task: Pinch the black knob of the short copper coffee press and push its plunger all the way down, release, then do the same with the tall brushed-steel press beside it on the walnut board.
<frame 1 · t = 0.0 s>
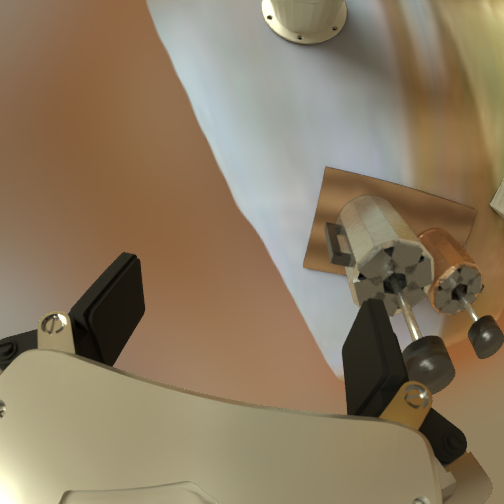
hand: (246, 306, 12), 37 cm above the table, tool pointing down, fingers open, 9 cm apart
steel press: (367, 226, 46), resting on walnut board
copper press: (431, 251, 46), resting on walnut board
walnut board: (395, 235, 47), on the table
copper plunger: (470, 309, 32), point 18 cm above the table, slide at 0.0 cm
steel plunger: (407, 312, 27), point 23 cm above the table, slide at 0.0 cm
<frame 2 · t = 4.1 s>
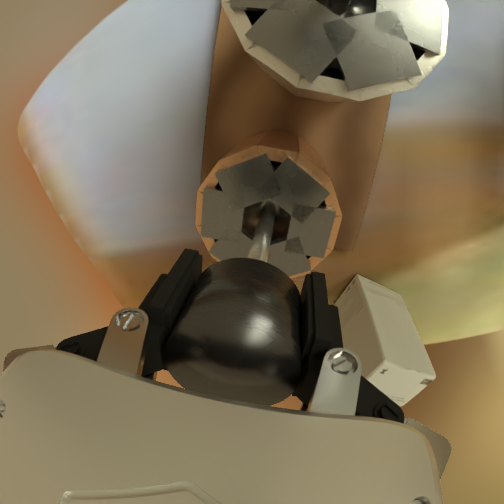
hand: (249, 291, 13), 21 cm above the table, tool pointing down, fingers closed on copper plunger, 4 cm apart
steel press: (317, 48, 23), resting on walnut board
skincare box: (369, 298, 37), on the table
copper press: (277, 175, 30), resting on walnut board
walnut board: (299, 102, 27), on the table
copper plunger: (258, 255, 15), point 18 cm above the table, slide at 0.0 cm, touching gripper
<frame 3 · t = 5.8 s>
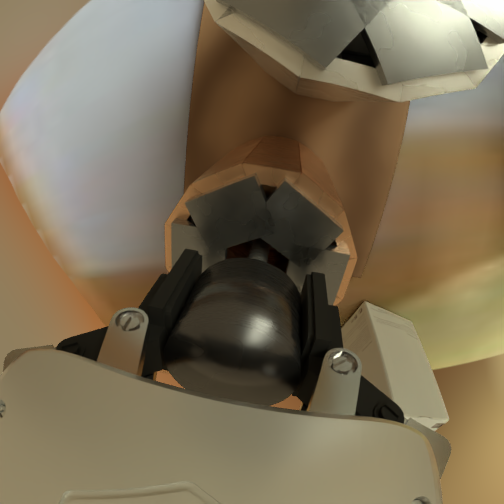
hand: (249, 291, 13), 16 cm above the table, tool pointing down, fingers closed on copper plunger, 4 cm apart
steel press: (323, 36, 18), resting on walnut board
skincare box: (377, 325, 32), on the table
copper press: (273, 191, 25), resting on walnut board
walnut board: (300, 101, 22), on the table
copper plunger: (258, 255, 15), point 12 cm above the table, slide at 5.5 cm, touching gripper
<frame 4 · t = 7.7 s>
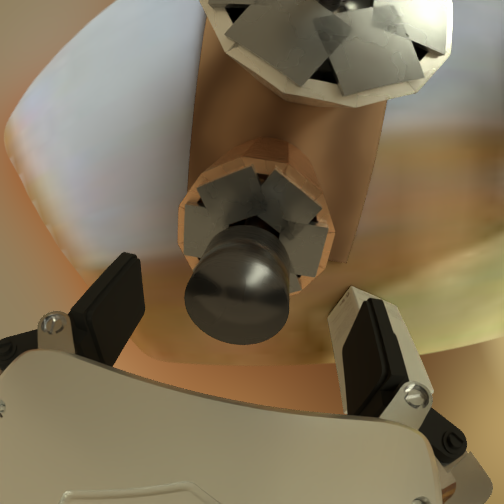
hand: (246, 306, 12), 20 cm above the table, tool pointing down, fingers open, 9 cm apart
steel press: (309, 50, 22), resting on walnut board
skincare box: (364, 309, 36), on the table
copper press: (266, 185, 29), resting on walnut board
walnut board: (289, 107, 26), on the table
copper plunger: (254, 232, 19), point 12 cm above the table, slide at 5.5 cm
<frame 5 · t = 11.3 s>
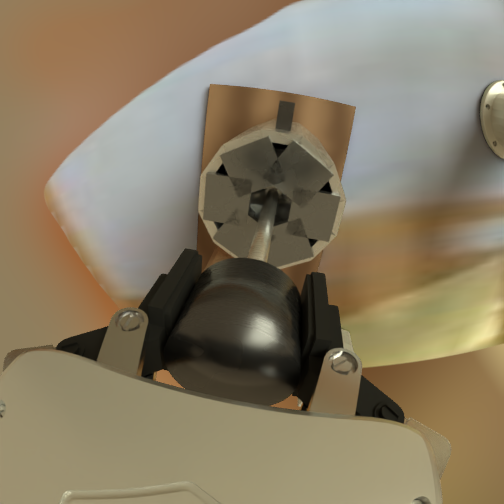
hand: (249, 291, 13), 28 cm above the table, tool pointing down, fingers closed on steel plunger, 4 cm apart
steel press: (280, 162, 36), resting on walnut board
walnut board: (266, 201, 40), on the table
steel plunger: (261, 240, 17), point 23 cm above the table, slide at 0.0 cm, touching gripper
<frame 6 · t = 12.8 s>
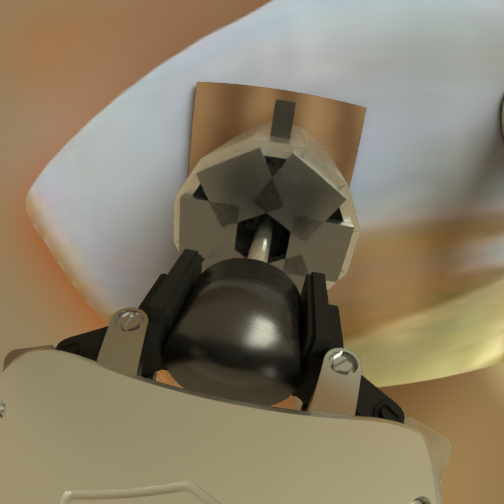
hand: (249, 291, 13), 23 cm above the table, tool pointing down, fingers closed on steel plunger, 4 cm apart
steel press: (278, 172, 31), resting on walnut board
walnut board: (262, 216, 35), on the table
steel plunger: (262, 240, 17), point 18 cm above the table, slide at 5.4 cm, touching gripper
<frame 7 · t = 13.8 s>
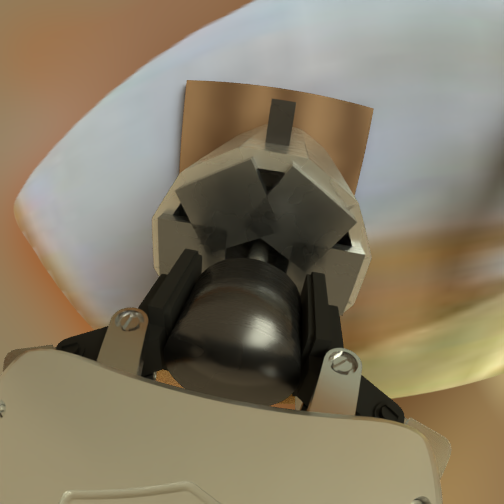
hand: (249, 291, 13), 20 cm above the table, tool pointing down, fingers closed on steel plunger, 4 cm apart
steel press: (276, 179, 28), resting on walnut board
walnut board: (259, 227, 33), on the table
steel plunger: (262, 240, 17), point 15 cm above the table, slide at 8.5 cm, touching gripper
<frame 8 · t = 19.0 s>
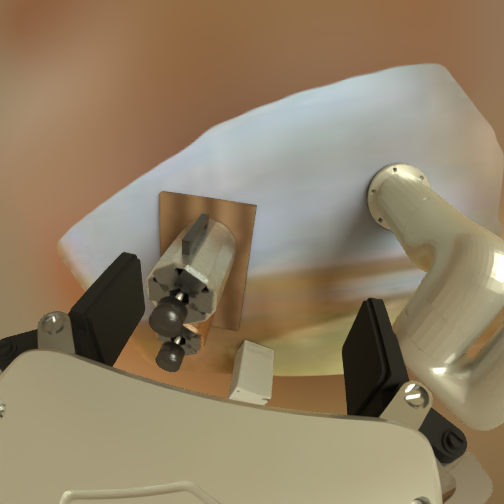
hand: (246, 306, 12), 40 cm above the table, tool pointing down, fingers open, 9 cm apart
steel press: (208, 244, 56), resting on walnut board
skincare box: (256, 350, 71), on the table
copper press: (196, 299, 63), resting on walnut board
walnut board: (203, 266, 60), on the table
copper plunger: (180, 334, 53), point 12 cm above the table, slide at 5.5 cm
steel plunger: (185, 285, 44), point 15 cm above the table, slide at 8.5 cm
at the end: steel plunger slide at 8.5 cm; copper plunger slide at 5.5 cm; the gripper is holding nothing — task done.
